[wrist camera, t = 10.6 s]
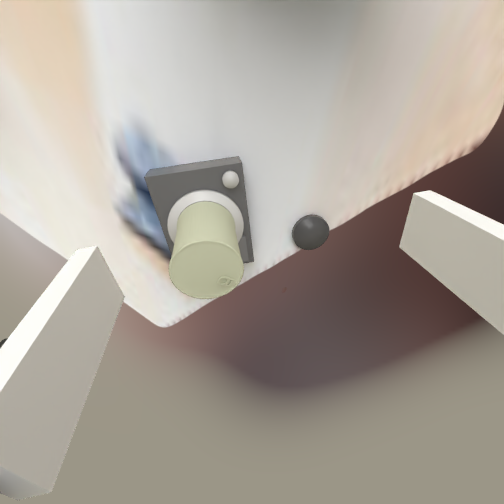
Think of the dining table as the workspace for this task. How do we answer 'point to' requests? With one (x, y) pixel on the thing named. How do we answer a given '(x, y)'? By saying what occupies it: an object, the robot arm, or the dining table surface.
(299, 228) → the lens cap
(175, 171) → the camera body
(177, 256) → the can
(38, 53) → the dining table surface
